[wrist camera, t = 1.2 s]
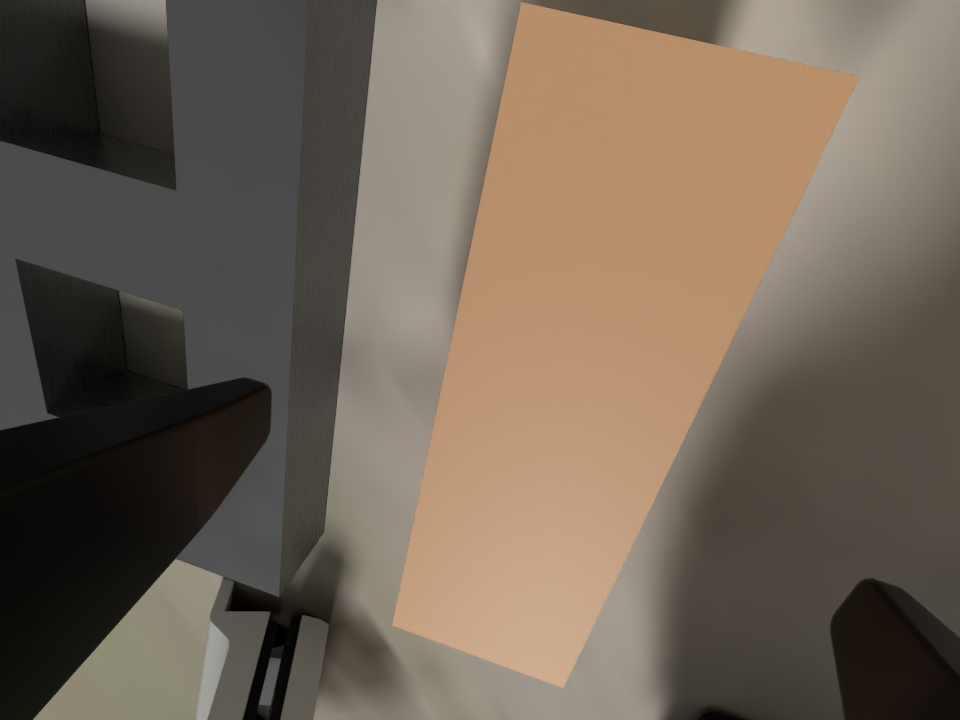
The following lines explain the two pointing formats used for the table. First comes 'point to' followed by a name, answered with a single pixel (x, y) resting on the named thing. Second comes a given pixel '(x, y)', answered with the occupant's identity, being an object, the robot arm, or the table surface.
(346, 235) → the gray slotted slab
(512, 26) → the table surface
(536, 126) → the tan wooden plank
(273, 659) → the grey upright panel
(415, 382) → the table surface
